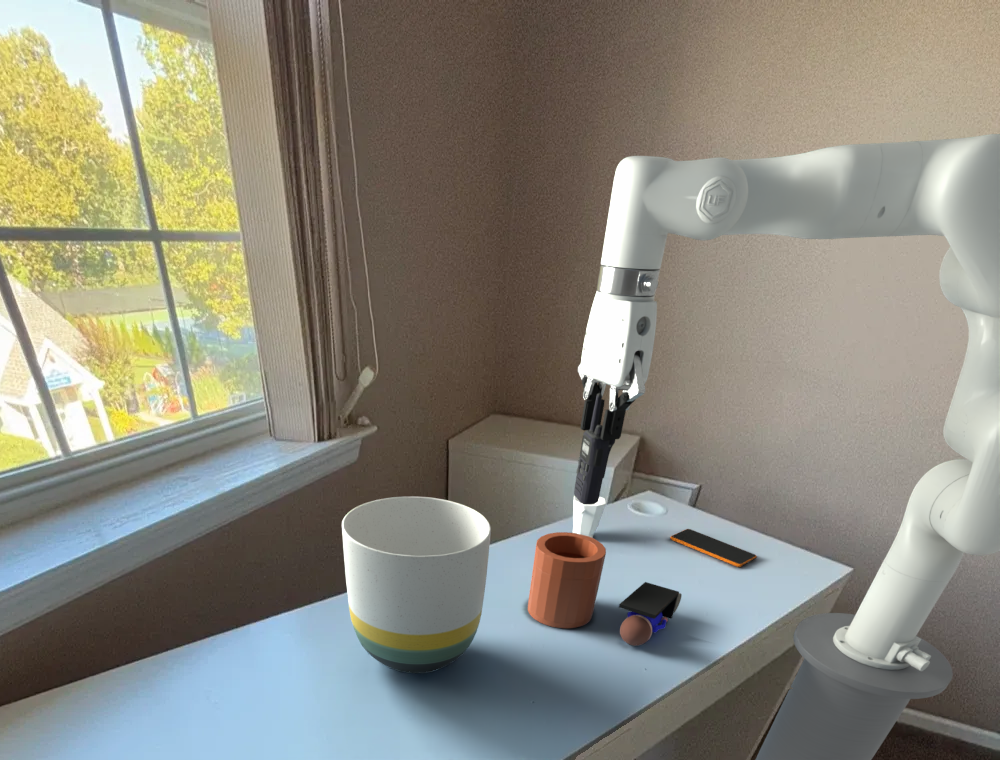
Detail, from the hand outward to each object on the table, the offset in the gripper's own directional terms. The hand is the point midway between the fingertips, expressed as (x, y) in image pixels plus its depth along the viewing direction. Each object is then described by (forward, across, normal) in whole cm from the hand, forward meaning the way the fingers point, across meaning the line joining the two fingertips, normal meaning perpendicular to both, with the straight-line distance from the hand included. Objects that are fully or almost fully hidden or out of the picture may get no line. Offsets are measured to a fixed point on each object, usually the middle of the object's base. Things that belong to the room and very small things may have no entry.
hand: (600, 432), depth 93 cm
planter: (+29, -5, +31) cm, 43 cm away
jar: (+29, -1, +2) cm, 29 cm away
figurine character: (+29, -11, -8) cm, 32 cm away
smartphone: (+29, +9, -42) cm, 52 cm away
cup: (+29, +23, -18) cm, 42 cm away
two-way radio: (+10, 0, 0) cm, 10 cm away
